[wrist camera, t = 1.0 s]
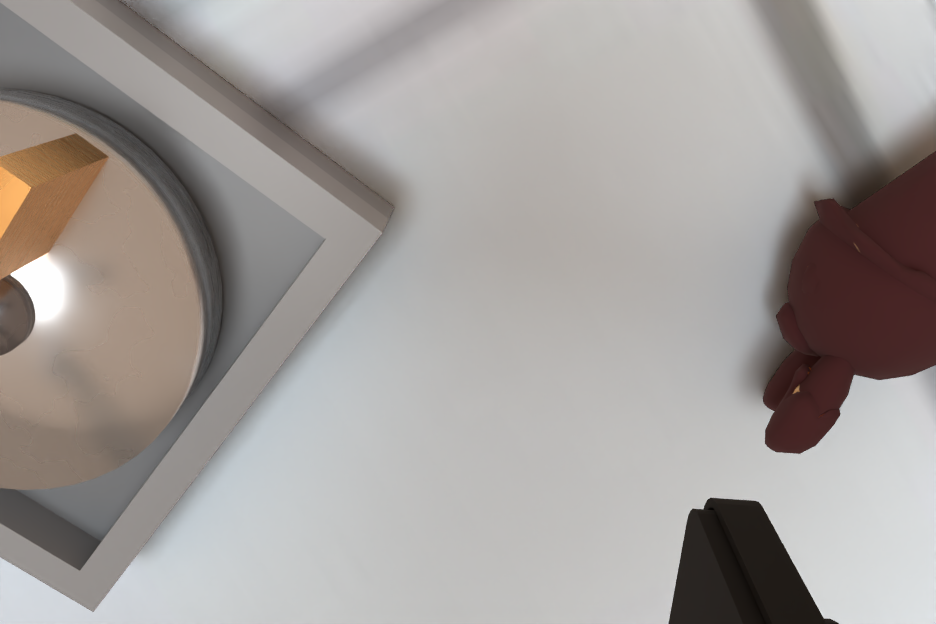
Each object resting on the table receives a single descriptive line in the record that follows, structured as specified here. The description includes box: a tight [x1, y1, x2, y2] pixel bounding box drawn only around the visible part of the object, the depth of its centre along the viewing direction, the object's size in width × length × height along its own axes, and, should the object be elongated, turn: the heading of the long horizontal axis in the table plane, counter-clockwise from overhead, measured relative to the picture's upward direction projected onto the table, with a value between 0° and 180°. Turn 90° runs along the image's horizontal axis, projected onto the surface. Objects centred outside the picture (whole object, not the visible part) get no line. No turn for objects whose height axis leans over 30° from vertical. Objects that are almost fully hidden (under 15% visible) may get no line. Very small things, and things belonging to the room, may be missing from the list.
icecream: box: [763, 151, 936, 454], centre depth 30 cm, size 7×7×15 cm
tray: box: [0, 0, 394, 612], centre depth 32 cm, size 20×18×4 cm
